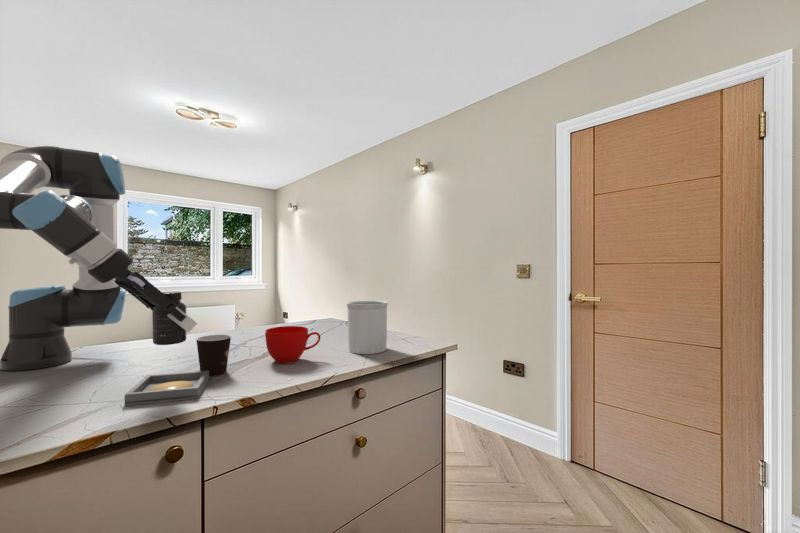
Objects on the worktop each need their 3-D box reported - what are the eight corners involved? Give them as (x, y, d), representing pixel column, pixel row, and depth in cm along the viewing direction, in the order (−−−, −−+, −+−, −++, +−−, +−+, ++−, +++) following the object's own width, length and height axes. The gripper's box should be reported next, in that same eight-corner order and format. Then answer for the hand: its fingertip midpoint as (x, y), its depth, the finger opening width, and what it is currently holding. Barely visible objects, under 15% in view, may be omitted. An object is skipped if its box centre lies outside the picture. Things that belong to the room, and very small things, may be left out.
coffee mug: (216, 379, 94) (216, 341, 94) (188, 376, 96) (188, 340, 96) (243, 366, 106) (244, 333, 106) (218, 365, 108) (218, 332, 108)
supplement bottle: (163, 339, 88) (163, 291, 88) (191, 339, 88) (192, 291, 88) (145, 345, 81) (146, 293, 81) (176, 345, 82) (177, 293, 81)
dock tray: (146, 384, 89) (147, 375, 89) (209, 379, 94) (209, 370, 94) (124, 405, 76) (124, 394, 76) (198, 398, 81) (198, 387, 81)
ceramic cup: (320, 364, 109) (320, 332, 109) (262, 367, 105) (262, 334, 105) (319, 354, 122) (320, 325, 122) (268, 356, 118) (268, 326, 118)
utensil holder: (340, 353, 123) (341, 303, 123) (353, 344, 137) (353, 299, 137) (382, 356, 120) (382, 304, 120) (390, 346, 135) (391, 300, 135)
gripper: (76, 270, 79) (159, 332, 92) (97, 272, 66) (190, 344, 79) (106, 247, 83) (182, 310, 96) (131, 245, 71) (215, 318, 83)
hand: (186, 325), depth 87 cm, fingers closed on supplement bottle, 7 cm apart
